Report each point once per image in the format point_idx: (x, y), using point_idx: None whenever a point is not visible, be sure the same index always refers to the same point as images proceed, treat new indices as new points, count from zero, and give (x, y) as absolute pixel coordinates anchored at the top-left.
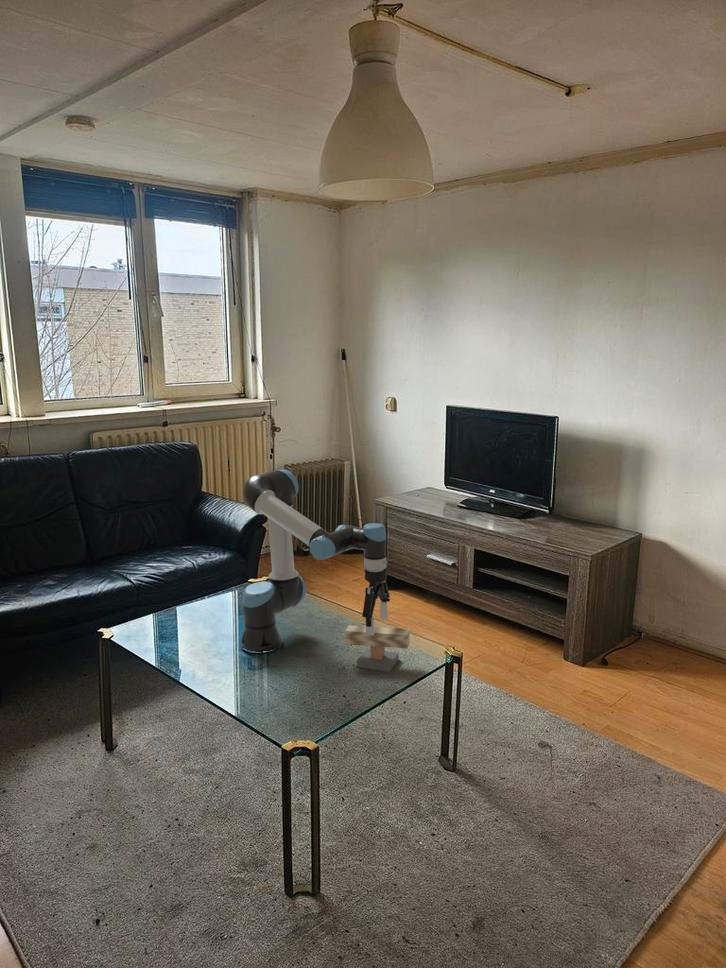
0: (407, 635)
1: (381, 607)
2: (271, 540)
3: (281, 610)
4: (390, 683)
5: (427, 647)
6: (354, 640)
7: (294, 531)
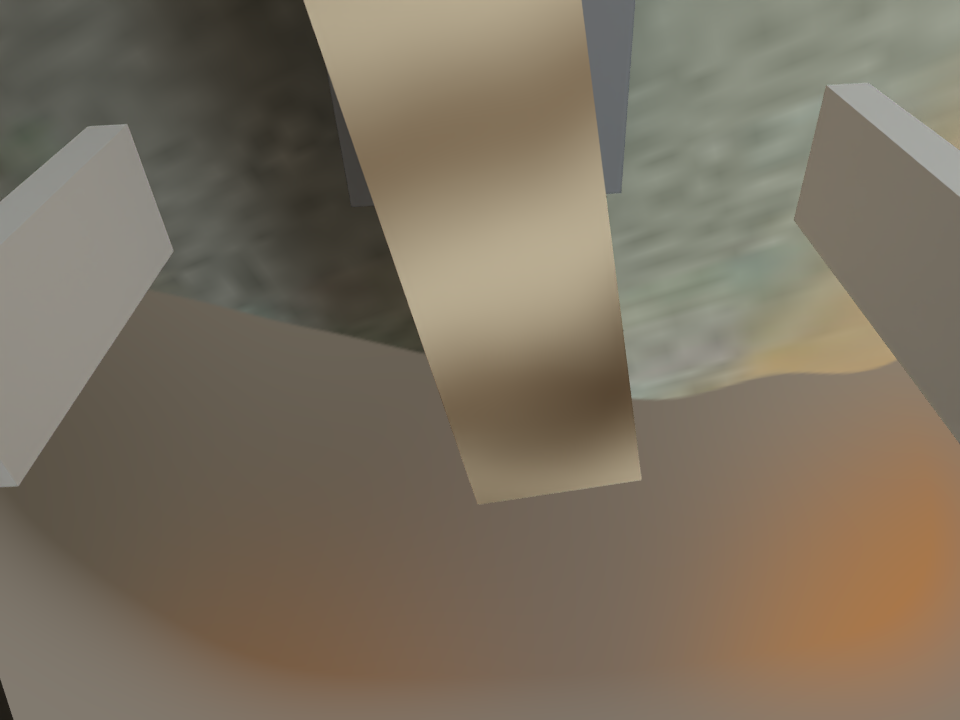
0: (490, 494)
1: (939, 247)
2: None
3: None
4: (213, 248)
5: None
6: None
7: None
